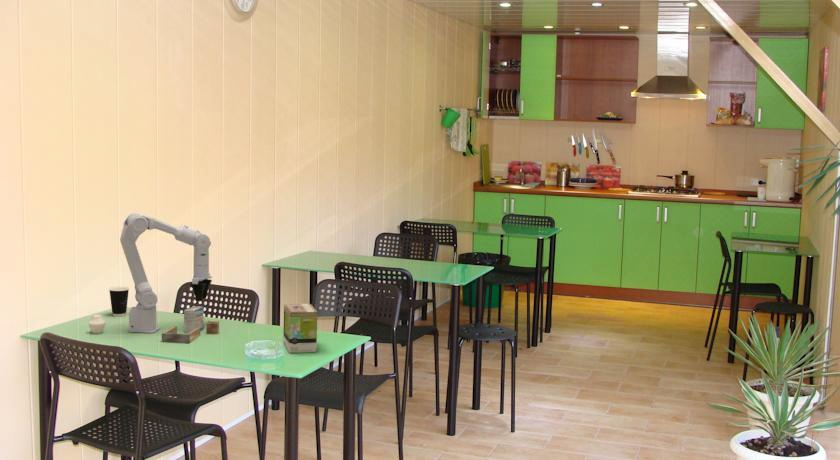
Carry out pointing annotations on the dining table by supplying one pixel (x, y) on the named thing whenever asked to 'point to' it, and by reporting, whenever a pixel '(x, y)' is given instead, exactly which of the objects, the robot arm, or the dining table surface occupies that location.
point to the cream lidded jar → (97, 324)
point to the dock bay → (179, 335)
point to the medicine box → (193, 318)
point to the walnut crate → (212, 327)
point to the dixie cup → (119, 300)
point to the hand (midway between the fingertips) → (201, 299)
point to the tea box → (300, 328)
